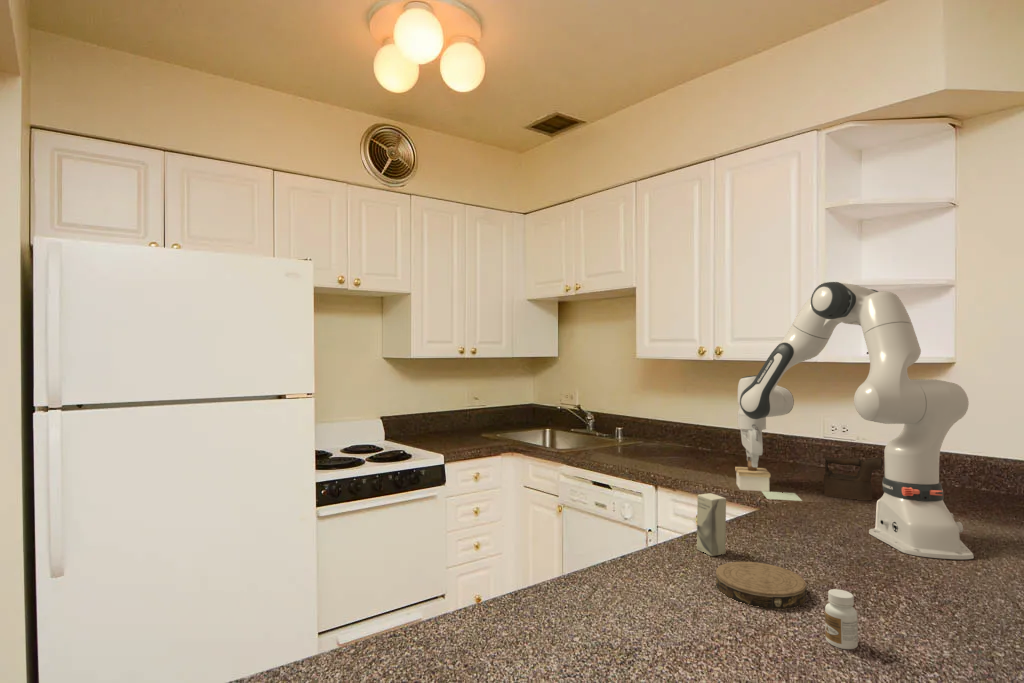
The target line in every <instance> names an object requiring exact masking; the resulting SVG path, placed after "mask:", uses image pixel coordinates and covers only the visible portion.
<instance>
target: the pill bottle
mask: <svg viewBox="0 0 1024 683" xmlns="http://www.w3.org/2000/svg"><path fill="white" fill-rule="evenodd" d="M827 596H828V598H827V599H828V603H827V604H826V605H825V607H824V612H825V613H824V615H825V616H824V623H825V625H824V628H825V630H824V631H825V640H826V641H827V643H828V644H830V645H832V646H834V647H836V648H838V649H842V650H853V649H856V648H857V647H858V645H859V641H858V640H859V638H858V637H859V635H858V634H859V632H858V628H859V627H858V612H857V610H856V609H855V608H854V607H853V606H854V603H855V600H854V599H855V598H854V594H852V593H851V592H849V591H846V590H843V589H834V588H832V589H829V590H828V592H827Z"/></svg>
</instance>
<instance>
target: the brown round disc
mask: <svg viewBox="0 0 1024 683" xmlns="http://www.w3.org/2000/svg"><path fill="white" fill-rule="evenodd" d="M716 586H717V588H718V589H719V591H720V592H722V593H723V594H725V595H726V596H727V597H729V598H732V599H734V600H736V601H738V602H742V603H745V604H749V605H753V606H759V607H763V608H762V609H765V608H767V609H766V610H782V609H783V610H787V609H786V608H791V609H795V608H794V607H796V608H798V607H797V606H799V607H800V605H801V606H803V605H804V604H805V603H806V602H807V585H806V581H805V579H804V578H802V576H801V575H799V574H797V573H796V572H794V571H791V570H790V569H786V568H784V567H780V566H778V565H773V564H768V563H765V562H763V563H762V562H756V561H734V562H733V561H732V562H731V561H730V562H727V563H723V564H721V565H719V566H718V567H717V568H716V570H715V587H716ZM717 588H716V589H717ZM718 589H717V590H718ZM719 591H718V592H719ZM720 592H719V593H720ZM723 594H722V595H723ZM726 596H725V597H726ZM727 597H726V598H727ZM729 598H728V599H729ZM732 599H731V600H732ZM734 600H733V601H734ZM736 601H735V602H736ZM738 602H737V603H738ZM804 602H805V603H804ZM742 603H741V604H742ZM803 603H804V604H803ZM745 604H744V605H745ZM802 604H803V605H802ZM749 605H748V606H749ZM753 606H752V607H753Z"/></svg>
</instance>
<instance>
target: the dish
mask: <svg viewBox="0 0 1024 683" xmlns="http://www.w3.org/2000/svg"><path fill="white" fill-rule="evenodd" d="M735 475H736V477H735V478H736V486H737V488H738V489H739V491H756V492H762V491H766V492H770V477H750V476H739V475H738V474H737V472H736V471H735Z"/></svg>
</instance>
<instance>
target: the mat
mask: <svg viewBox="0 0 1024 683" xmlns="http://www.w3.org/2000/svg"><path fill="white" fill-rule="evenodd" d="M761 493H762V494H763V496H764V497H765V498H766V499H767V500H777V501H778V500H781V501H796V502H802V501H803V499H801V498H800V497H799V496H798V494H797V493H796V492H783V493H782V491H781V492H780V491H761Z"/></svg>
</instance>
